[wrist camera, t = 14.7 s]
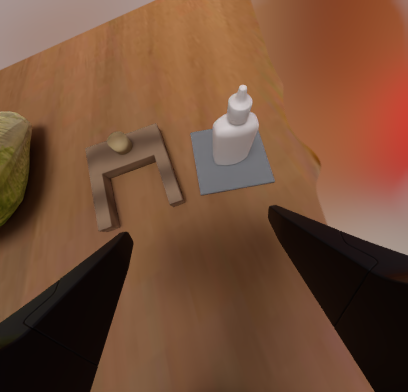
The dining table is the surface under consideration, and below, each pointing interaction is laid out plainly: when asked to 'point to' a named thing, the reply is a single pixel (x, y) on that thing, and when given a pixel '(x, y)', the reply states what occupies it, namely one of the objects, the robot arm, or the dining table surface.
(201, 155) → the slate mat
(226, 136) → the eye dropper bottle
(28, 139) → the lettuce
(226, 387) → the dining table surface
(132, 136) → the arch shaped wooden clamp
